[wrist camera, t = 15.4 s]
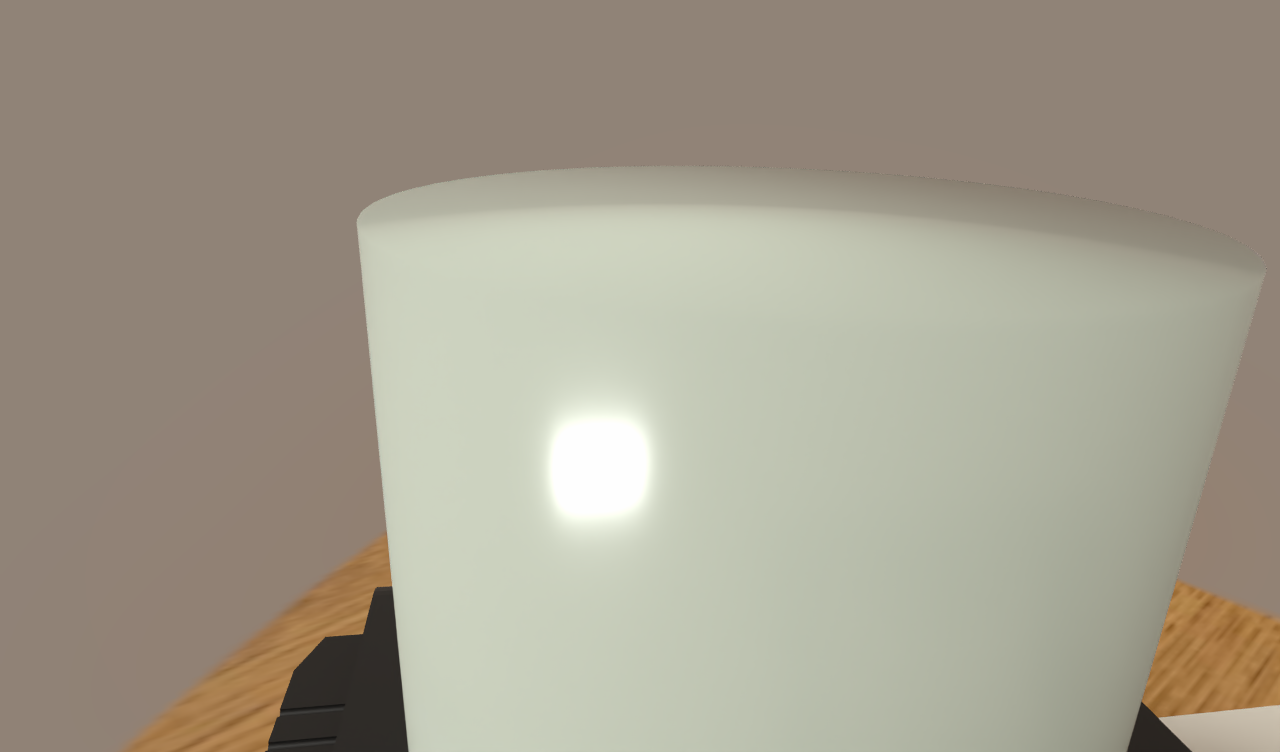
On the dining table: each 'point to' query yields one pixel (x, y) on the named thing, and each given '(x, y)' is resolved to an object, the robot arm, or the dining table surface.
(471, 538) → the pale green pillar candle
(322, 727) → the robot arm
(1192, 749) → the cream mat
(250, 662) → the dining table surface
